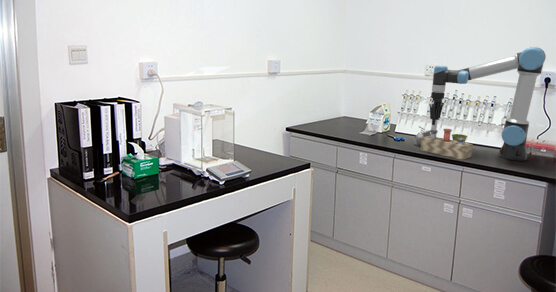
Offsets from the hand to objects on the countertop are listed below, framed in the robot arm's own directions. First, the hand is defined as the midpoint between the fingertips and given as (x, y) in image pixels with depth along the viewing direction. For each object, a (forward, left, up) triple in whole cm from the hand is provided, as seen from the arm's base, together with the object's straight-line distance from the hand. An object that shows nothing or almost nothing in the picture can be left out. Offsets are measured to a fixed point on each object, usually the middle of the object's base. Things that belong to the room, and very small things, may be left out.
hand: (433, 129), depth 279 cm
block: (-9, 0, -13) cm, 16 cm away
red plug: (-9, 0, -8) cm, 12 cm away
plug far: (0, 0, -10) cm, 10 cm away
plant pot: (-7, -19, -13) cm, 24 cm away
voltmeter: (+15, -12, -13) cm, 23 cm away
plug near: (-18, 0, -12) cm, 22 cm away
